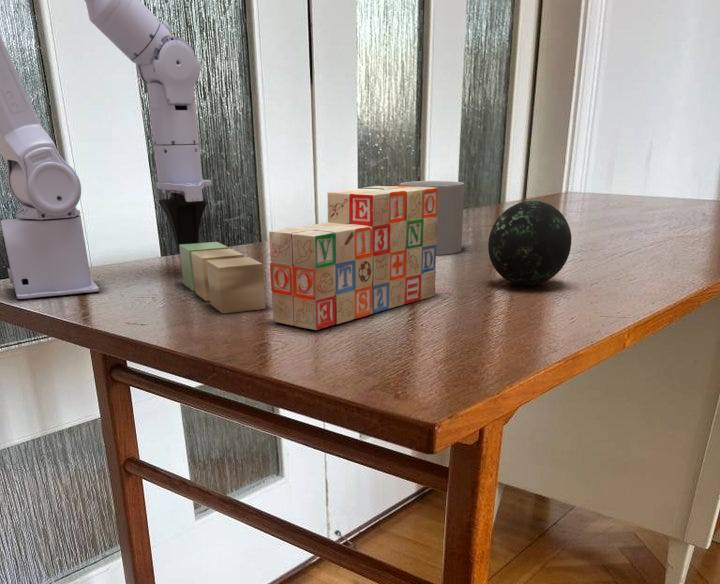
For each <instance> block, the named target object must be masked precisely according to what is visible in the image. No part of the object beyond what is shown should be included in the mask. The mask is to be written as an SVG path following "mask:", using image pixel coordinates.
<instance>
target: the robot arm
mask: <svg viewBox="0 0 720 584" xmlns="http://www.w3.org/2000/svg"><path fill="white" fill-rule="evenodd" d="M84 2H85V5H86V10H87V14H88V18H89V21H90V22H91V23H92V24H93V25H94V26H95V28H97V29H98V30H99V31H100V32H101V33H102V34H103V35H104V36H105V37H106V38H107V39H108V40H109V41H110V42H111V43H112V44H113V45H114V46H115V47H116V48H117V49H118V50H119V51H121V53H122V54H123V55H124V56H125V57H127V59H129V60H130V61H131V62H132V63H133V64H135V66H136V67H135V68H136V71H137V73H138V76H139V78H140V80H141V81H142V82H143V83H144V84H146V86H147V94H148V102H149V104H148V106H149V114H150V123H151V124H150V125H151V132H152V139H153V140H152V141H153V148H154V158H155V167H156V168H155V169H156V176H157V181H156V189H158V190H162V193H163V194H170V195H171V196H169V198H163V199H162V198H161V199H158V200H157V201H158V203H159V206H160V207H161V209H162V211H163V212H164V214H165V216H166V218H167V220H168V223H169V226H170V228H171V232H172V235H173V239H174V242H175V245H176V248H177V251H178V253H179V254H180V248H179V245H181V244H194V243H199V235H200V234H199V233H200V227H201V221H202V218H203V214H204V211H205V210H206V207H207V202H208V201H207V200H206V199H204V197H203V189H204V188H206V187H212V186H213V184H212V180H210V179H203V174H202V172H203V171H202V163H201V162H202V161H201V151H200V138H199V129H198V128H199V127H198V116H197V105H196V97H195V85H196V83H197V82H198V80H199V77H200V74H201V69H202V68H201V67H202V66H201V62H200V61H198V58H197V57H196V56H195V51H194V49H193V47H192V46H191V45H190V44H189V42H187V40H185V39H183V38H182V37H180V36H176V35H171V32H170V31H171V29H172V28H171V26H170V25H169V24H168V23H167V22H166V21H160V20H159V19H158V18H157V16H156V15H155V14H154V13H153V12H152V11H151V10H150V9H149V8H148V7H147V6H146V5H145V4H144V3H143V2H142V1H141V0H84ZM0 154H1V156H2V159H3V160H4V162H5V165H6V169H7V186H8V189H9V191H10V193H11V194H12V196H13V198H14V199H15V200H16V201H17V202H18V203H20V205H19V207H18V209H17V210H16V216H17V218H13V219H12V218H11V219H2V220H0V225H1V230H2V235H3V240H4V245H5V249H6V255H7V260H8V264H9V268H7V274H8V278H9V282H10V284H11V285H12V284H13V290H14V292H15V295H16V299H19V300H24V299H37V298H44V297H45V298H46V297H55V296H66V295H76V294H77V295H78V294H86V293H96V292H99V291H100V287H99V286H98V285H97V283H96V282H95V281H94V280H93V279H92V277H91V276H92V275H91V271H90V264H89V258H88V251H87V246H86V239H85V233H84V228H83V221H82V216H81V210H80V209H77V205H78V204H79V202H80V200H81V196H82V184H81V180H80V178H79V174H77V172H76V170H75V169H74V168H73V167H72V166H71V165H70V164H69V163H68V162H66V161H65V160H64V159H63V157H62V156H61V154H60V153H59V150H58V149H57V146H56V144H55V142H54V141H53V139H52V138H51V137H50V135H49V134H48V133H47V131H46V130H45V129H44V127H43V126H42V124H41V122H40V120H39V118H38V116H37V113H36V111H35V109H34V107H33V104H32V102H31V100H30V98H29V95H28V93H27V91H26V88H25V87H24V85H23V82H22V80H21V78H20V76H19V74H18V71H17V69H16V67H15V65H14V62H13V61H12V58H11V55H10V54H9V51H8V49H7V47H6V45H5V42H4V41H3V38H2V36H1V35H0Z"/></svg>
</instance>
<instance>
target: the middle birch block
mask: <svg viewBox="0 0 720 584" xmlns="http://www.w3.org/2000/svg"><path fill="white" fill-rule="evenodd" d="M191 255H192V264H193V274H194V283H195V291H194V292H195V295H197V296H198V297H199V298H201V299H202V300H204V301H205V302H210V293H209V283H208V273H207V262H206V261H207V260H219V259H230V258H242V257H245V256H244V254H243V253H242V252H239V251H237V250H235V249H233V248H228V249H220V250H208V251H195V252H191Z"/></svg>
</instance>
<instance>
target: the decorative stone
mask: <svg viewBox="0 0 720 584" xmlns="http://www.w3.org/2000/svg"><path fill="white" fill-rule="evenodd" d="M487 243H488V244H487V250H488V251H487V252H488V257H489V259H490V262H491V265H492V266H493V268H494V270H495V271H496V272H497V274H498V275H499V276H500V277H501V278H502V279H504V280H505V281H507V282H508V283H511V284H514V285H517V286H519V287H520V286H521V287H535V286H539V285H542V284H544V283H547V282H548V281H550V280H551V279H552V278H554V277H555V276H556V275H557V274H558V273H559V272H560V271H562V269H563V267H564V266H565V265H566V263H567V261H568V259H569V256H570V253H571V248H572V231H571V228H570V225H569V223H568V221H567V219H566V217H565V216H564V214H562V212H561V211H560V210H559V209H557V208H556V207H555V206H553V205H552V204H550V203H547V202H545V201H540V200H527V201H521V202H518V203H516V204H513V205H512V206H510V207H508V208H507V209H506V210H505V211H503V212H502V213H501V214H500V215H499V216H498V217H497V219H496V220H495V222H494V223H493V225H492V226H491V230H490V232H489V235H488V241H487Z"/></svg>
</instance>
